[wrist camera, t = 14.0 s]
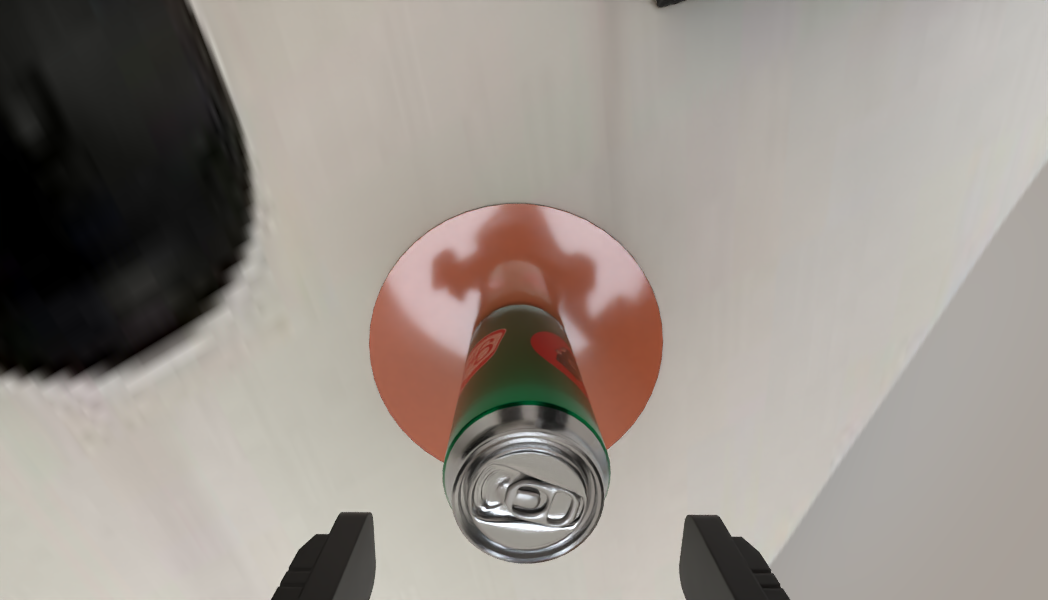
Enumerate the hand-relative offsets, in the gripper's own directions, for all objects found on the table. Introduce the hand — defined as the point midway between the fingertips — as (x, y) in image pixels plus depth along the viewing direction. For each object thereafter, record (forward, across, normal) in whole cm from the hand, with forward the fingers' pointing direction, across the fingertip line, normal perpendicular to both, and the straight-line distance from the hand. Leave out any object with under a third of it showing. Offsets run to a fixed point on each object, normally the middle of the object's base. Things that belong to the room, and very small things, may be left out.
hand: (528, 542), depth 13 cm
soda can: (+14, 0, 0) cm, 14 cm away
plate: (+14, 0, 0) cm, 14 cm away
